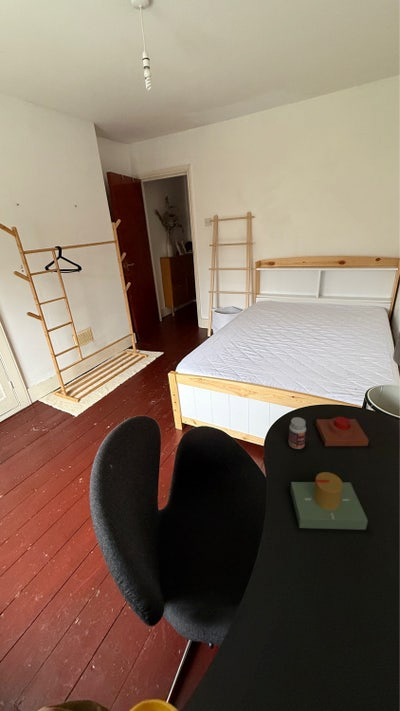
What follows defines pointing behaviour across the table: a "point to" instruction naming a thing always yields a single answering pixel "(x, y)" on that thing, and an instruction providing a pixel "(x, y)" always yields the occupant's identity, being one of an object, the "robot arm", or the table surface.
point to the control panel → (317, 517)
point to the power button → (342, 423)
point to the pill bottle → (297, 433)
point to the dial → (328, 491)
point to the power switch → (341, 433)
